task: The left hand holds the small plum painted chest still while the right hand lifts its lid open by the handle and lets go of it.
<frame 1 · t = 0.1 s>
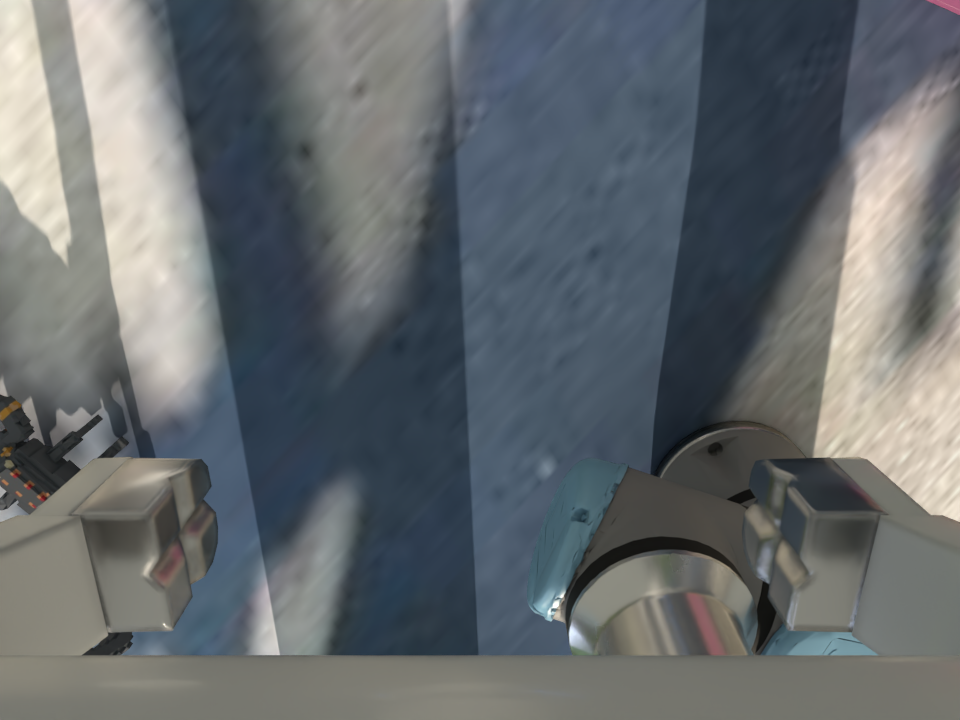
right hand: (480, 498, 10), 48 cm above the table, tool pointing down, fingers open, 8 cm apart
toy: (75, 466, 64), on the table
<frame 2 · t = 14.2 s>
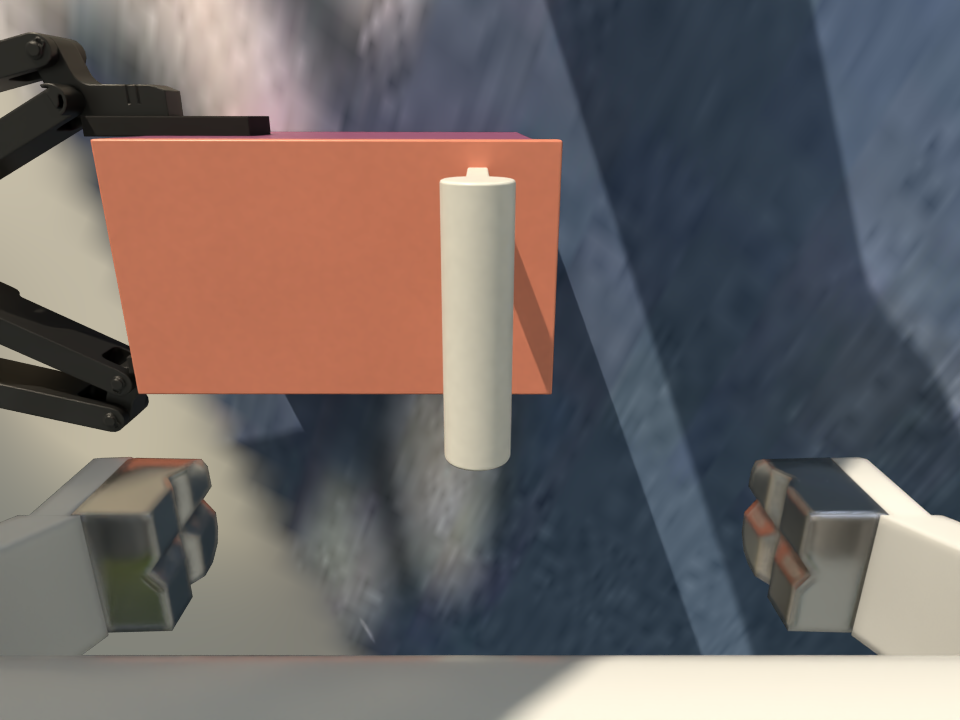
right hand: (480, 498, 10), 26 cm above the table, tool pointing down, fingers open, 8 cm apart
left hand: (272, 247, 29), fingers closed on chest, 9 cm apart
chest: (372, 226, 35), on the table, touching left hand
lid: (316, 297, 21), point 15 cm above the table, hinge at 0.0°
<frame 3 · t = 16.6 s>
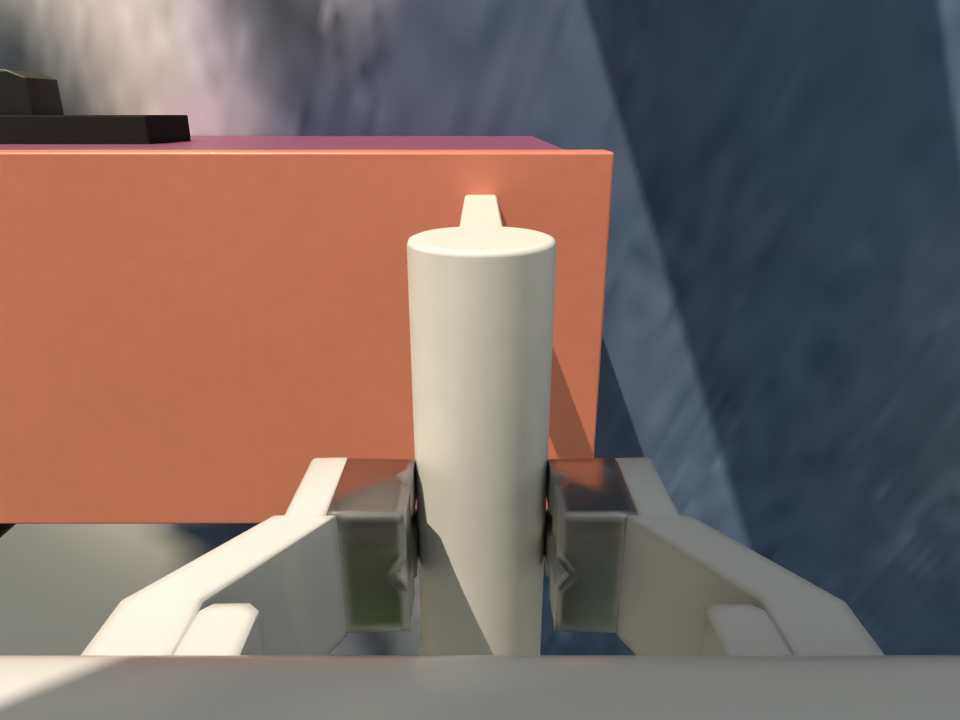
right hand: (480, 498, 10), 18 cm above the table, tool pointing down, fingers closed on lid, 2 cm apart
chest: (342, 258, 26), on the table, touching left hand
lid: (218, 411, 13), point 15 cm above the table, hinge at 0.0°, touching right hand
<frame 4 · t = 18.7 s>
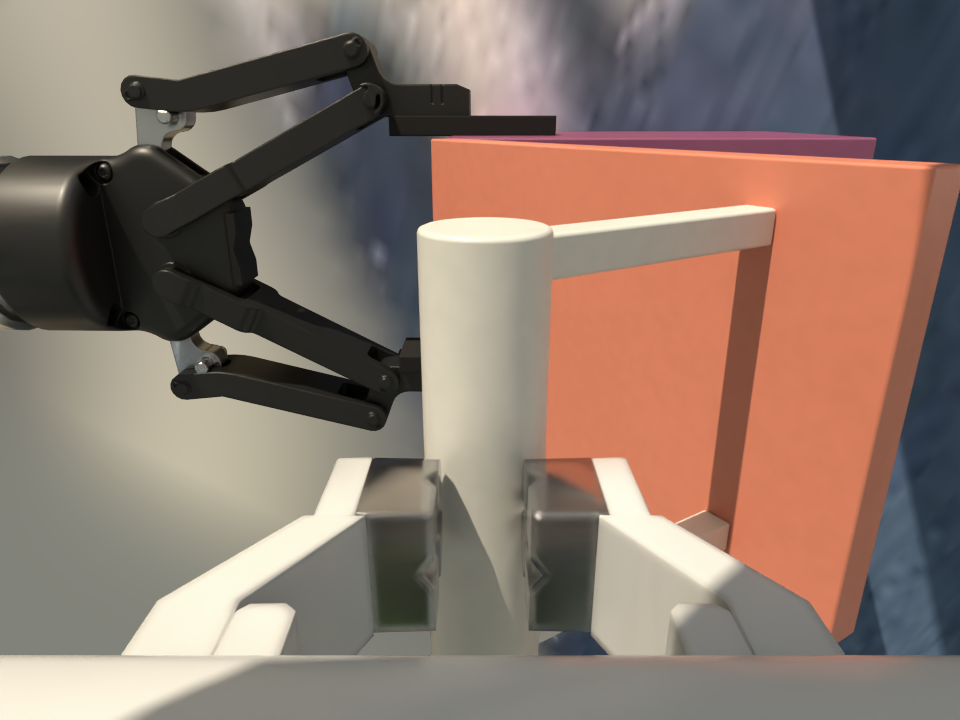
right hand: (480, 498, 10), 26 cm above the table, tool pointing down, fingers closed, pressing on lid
left hand: (548, 247, 29), fingers closed on chest, 9 cm apart
chest: (605, 225, 34), on the table, touching left hand
lid: (479, 349, 16), point 20 cm above the table, hinge at 56.0°, touching right hand
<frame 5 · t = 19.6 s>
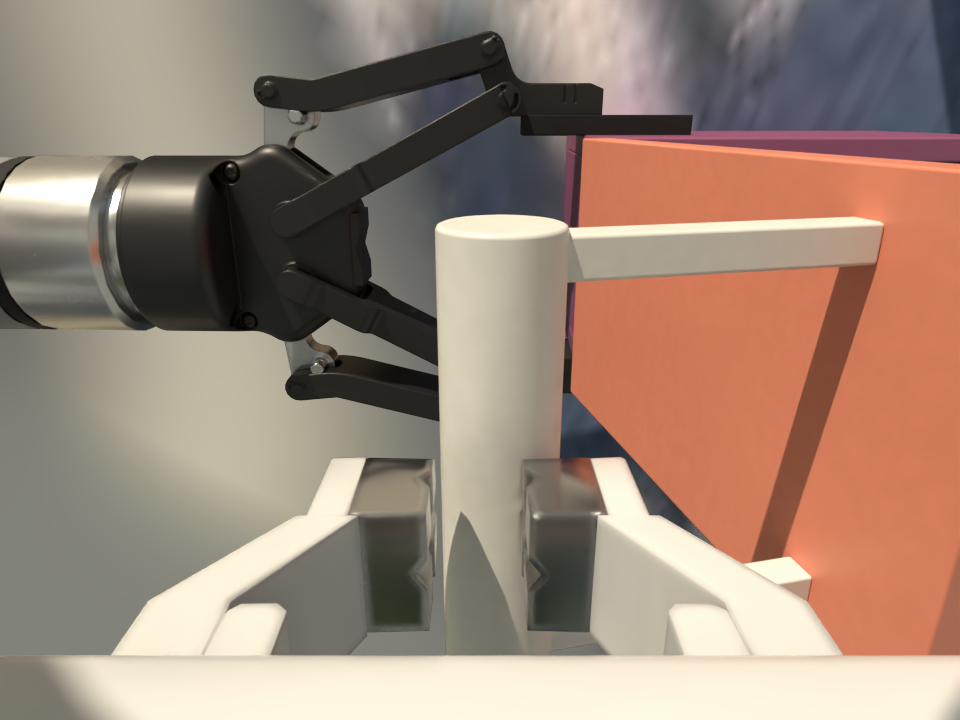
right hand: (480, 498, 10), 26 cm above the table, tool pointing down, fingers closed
left hand: (670, 247, 29), fingers closed on chest, 9 cm apart
chest: (709, 226, 34), on the table, touching left hand
lid: (572, 350, 16), point 20 cm above the table, hinge at 75.1°, touching right hand
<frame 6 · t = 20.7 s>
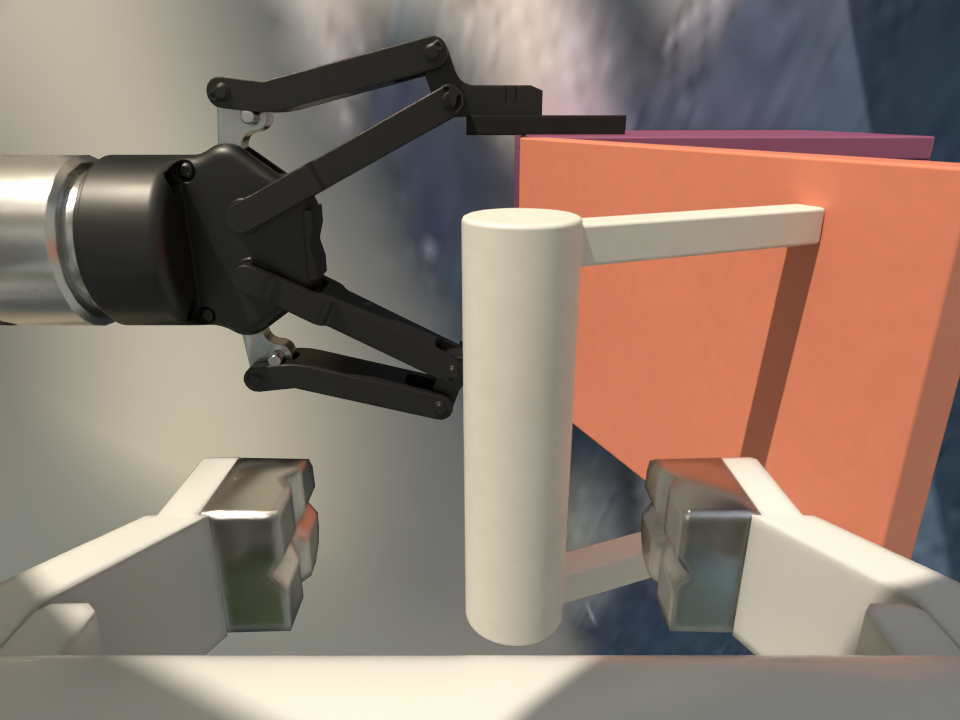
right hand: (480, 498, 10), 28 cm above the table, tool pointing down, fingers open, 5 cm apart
left hand: (610, 241, 30), fingers closed on chest, 9 cm apart
chest: (652, 221, 36), on the table, touching left hand
lid: (541, 334, 17), point 20 cm above the table, hinge at 67.7°
when the left hand's fingers open (6 cm above the table, at t = 24.0 s): chest stays where it is, on the table.
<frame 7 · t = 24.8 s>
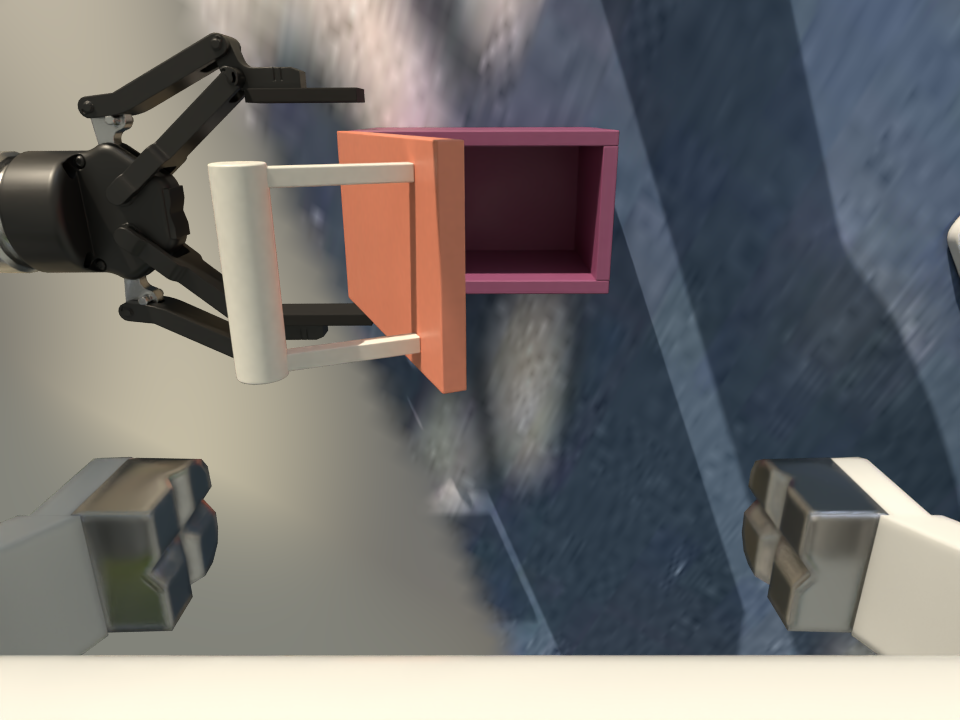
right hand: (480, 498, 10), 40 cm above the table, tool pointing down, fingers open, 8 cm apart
left hand: (368, 210, 42), fingers open, 13 cm apart
chest: (482, 195, 48), on the table
lid: (313, 245, 30), point 20 cm above the table, hinge at 66.6°
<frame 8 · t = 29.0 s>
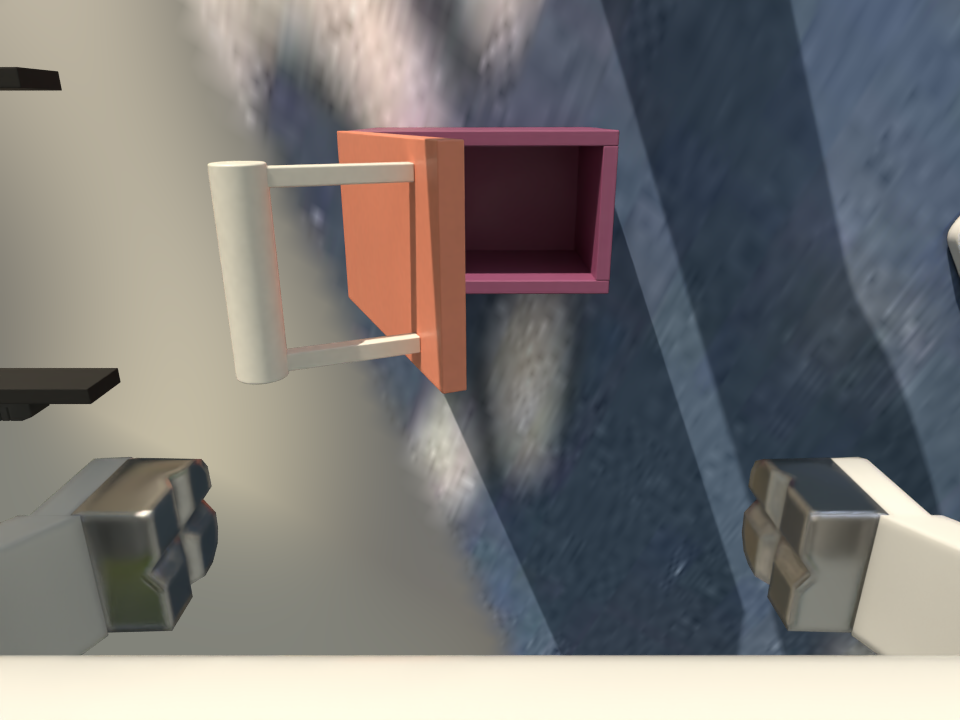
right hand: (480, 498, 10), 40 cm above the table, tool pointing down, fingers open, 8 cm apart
chest: (482, 195, 48), on the table
lid: (313, 245, 30), point 20 cm above the table, hinge at 66.6°
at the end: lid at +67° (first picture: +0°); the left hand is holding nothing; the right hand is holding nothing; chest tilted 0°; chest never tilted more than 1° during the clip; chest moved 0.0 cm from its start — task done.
